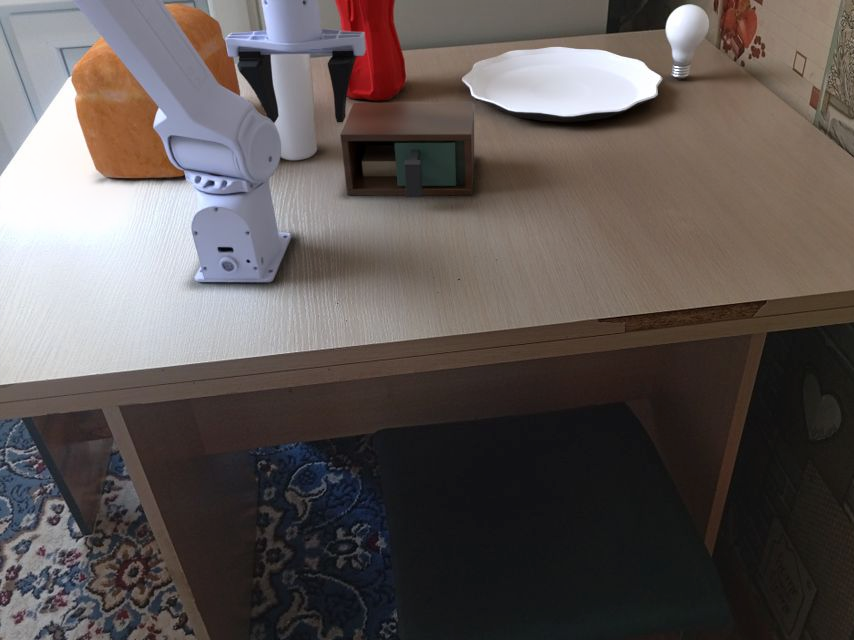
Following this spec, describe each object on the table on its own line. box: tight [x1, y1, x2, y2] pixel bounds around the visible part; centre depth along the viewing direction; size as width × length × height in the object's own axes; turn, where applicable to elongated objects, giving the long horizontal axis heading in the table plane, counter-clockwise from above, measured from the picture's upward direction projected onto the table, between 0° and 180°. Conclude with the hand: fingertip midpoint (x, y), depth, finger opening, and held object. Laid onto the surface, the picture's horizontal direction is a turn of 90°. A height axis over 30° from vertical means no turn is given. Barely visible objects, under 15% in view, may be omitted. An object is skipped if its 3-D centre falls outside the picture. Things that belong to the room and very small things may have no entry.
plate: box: [461, 46, 664, 123], centre depth 119 cm, size 29×29×2 cm
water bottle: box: [334, 0, 407, 102], centre depth 113 cm, size 9×11×25 cm
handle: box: [394, 141, 457, 198], centre depth 90 cm, size 5×7×5 cm
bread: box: [70, 2, 241, 179], centre depth 104 cm, size 14×26×16 cm, turn 179°
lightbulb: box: [665, 3, 710, 81], centre depth 120 cm, size 6×6×11 cm
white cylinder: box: [271, 54, 318, 161], centre depth 99 cm, size 7×7×15 cm
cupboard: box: [339, 101, 475, 196], centre depth 96 cm, size 10×15×8 cm, turn 88°
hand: (307, 119), depth 89 cm, fingers open, 7 cm apart
